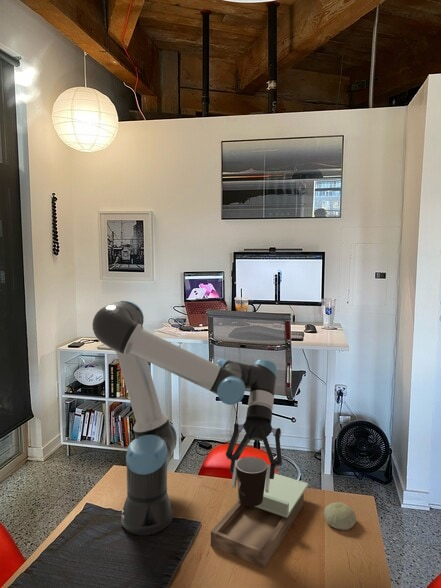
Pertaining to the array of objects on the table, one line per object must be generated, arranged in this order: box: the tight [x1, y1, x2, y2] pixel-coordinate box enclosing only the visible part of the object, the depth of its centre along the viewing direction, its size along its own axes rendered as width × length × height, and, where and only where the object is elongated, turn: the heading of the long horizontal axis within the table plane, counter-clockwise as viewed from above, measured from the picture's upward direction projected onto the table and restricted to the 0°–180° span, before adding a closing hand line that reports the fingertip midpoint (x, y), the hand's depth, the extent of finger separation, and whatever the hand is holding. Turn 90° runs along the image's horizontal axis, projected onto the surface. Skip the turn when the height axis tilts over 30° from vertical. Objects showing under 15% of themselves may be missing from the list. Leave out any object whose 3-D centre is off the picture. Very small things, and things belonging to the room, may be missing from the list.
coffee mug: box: [236, 456, 268, 507], centre depth 114 cm, size 12×9×10 cm
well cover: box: [237, 473, 309, 518], centre depth 130 cm, size 16×19×4 cm
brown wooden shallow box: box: [210, 493, 305, 569], centre depth 122 cm, size 16×30×4 cm, turn 150°
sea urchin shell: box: [323, 501, 357, 531], centre depth 123 cm, size 9×8×8 cm
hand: (250, 488), depth 111 cm, fingers closed on coffee mug, 8 cm apart
